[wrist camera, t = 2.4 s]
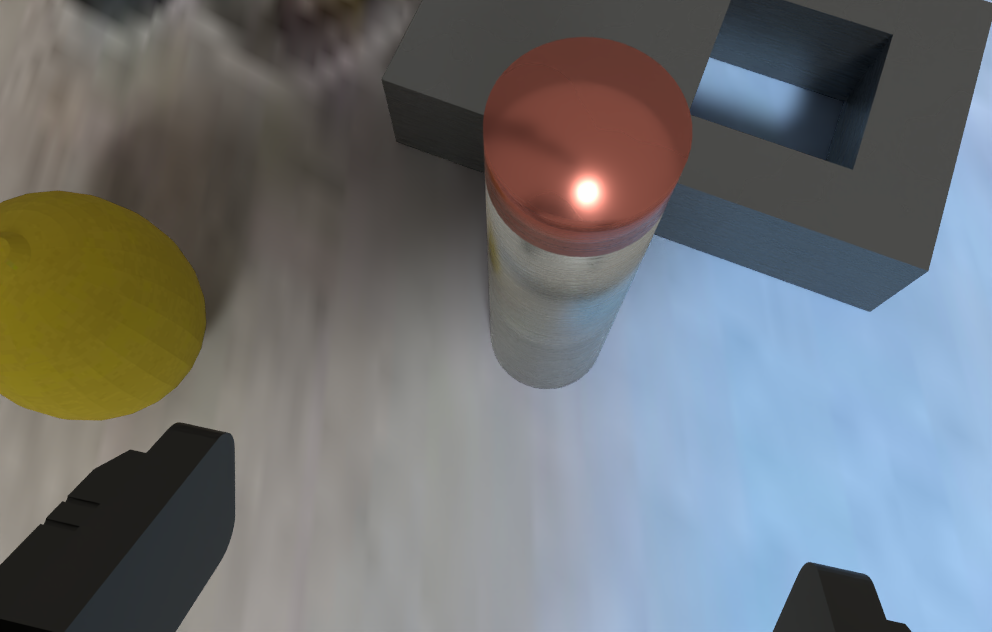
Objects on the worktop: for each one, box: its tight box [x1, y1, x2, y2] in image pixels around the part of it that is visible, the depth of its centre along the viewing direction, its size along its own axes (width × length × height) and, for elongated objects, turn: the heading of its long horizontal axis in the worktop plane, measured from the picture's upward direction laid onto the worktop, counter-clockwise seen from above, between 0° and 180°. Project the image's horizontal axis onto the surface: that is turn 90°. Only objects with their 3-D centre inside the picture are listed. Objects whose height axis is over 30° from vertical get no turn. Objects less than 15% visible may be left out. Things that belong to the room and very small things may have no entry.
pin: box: [483, 37, 692, 389], centre depth 19 cm, size 3×3×12 cm
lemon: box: [0, 191, 206, 420], centre depth 20 cm, size 6×6×8 cm
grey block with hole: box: [382, 0, 992, 312], centre depth 25 cm, size 16×9×4 cm, turn 68°
